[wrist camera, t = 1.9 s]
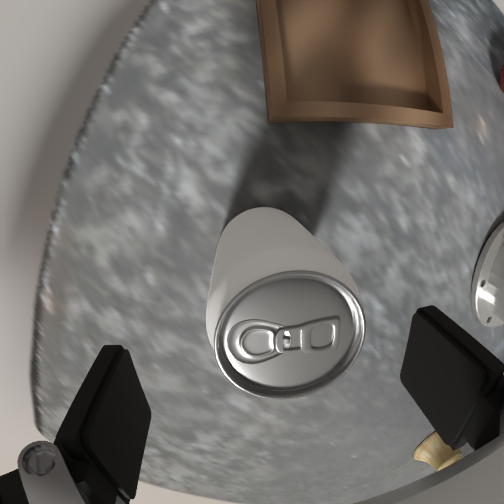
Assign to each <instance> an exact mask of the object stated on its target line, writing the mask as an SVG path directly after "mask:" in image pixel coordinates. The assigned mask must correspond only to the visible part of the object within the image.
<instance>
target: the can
mask: <svg viewBox="0 0 504 504" xmlns="http://www.w3.org/2000/svg"><path fill="white" fill-rule="evenodd" d="M206 327H207V333H208V337H209V340H210V343H211V345H212V347H213V349H214V352H215V356H216V359H217V362H218V364H219V366H220V368H221V370H222V372H223V373H224V374H225V376H226V377H227V378H228V379H229V380H230V381H231V382H232V383H233V384H235V385H236V386H237V387H239V388H240V389H242V390H244V391H246V392H248V393H250V394H252V395H255V396H259V397H262V398H268V399H278V400H283V399H294V398H300V397H304V396H308V395H311V394H313V393H316V392H318V391H321V390H323V389H324V388H326V387H328V386H330V385H331V384H333V383H334V382H335V381H337V380H338V379H339V378H340V377H342V376H343V375H344V374H345V373H346V372H347V371H348V370H349V368H350V367H351V366H352V365H353V363H354V362H355V360H356V359H357V357H358V355H359V353H360V351H361V349H362V346H363V343H364V339H365V332H366V321H365V315H364V311H363V308H362V306H361V303H360V297H359V292H358V289H357V287H356V284H355V282H354V280H353V278H352V277H351V275H350V274H349V272H348V271H347V270H346V268H345V267H344V266H343V265H342V264H341V263H340V262H339V260H338V259H337V258H336V257H335V256H334V255H333V254H332V253H331V252H330V251H329V250H328V249H327V248H326V247H325V246H323V245H322V244H321V243H320V242H319V241H318V240H317V239H316V238H315V237H314V236H313V235H312V234H311V233H310V232H309V231H308V230H307V229H306V228H304V227H303V226H302V225H301V224H300V223H299V222H298V221H297V220H296V219H294V218H293V217H292V216H290V215H289V214H287V213H286V212H284V211H281V210H279V209H275V208H270V207H258V208H253V209H249V210H247V211H244V212H242V213H240V214H239V215H237V216H236V217H235V218H233V219H232V220H231V221H230V222H229V223H228V225H227V226H226V227H225V229H224V231H223V232H222V234H221V237H220V239H219V242H218V246H217V251H216V256H215V261H214V266H213V272H212V277H211V283H210V289H209V295H208V302H207V310H206Z"/></svg>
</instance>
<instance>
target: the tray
mask: <svg viewBox="0 0 504 504" xmlns="http://www.w3.org/2000/svg"><path fill="white" fill-rule="evenodd" d="M256 6H257V15H258V24H259V34H260V43H261V53H262V63H263V74H264V84H265V95H266V106H267V118H268V123H275V122H358V123H377V124H391V125H402V126H412V127H421V128H429V129H444V128H454V126H453V116H452V107H451V99H450V92H449V85H448V79H447V73H446V68H445V63H444V58H443V53H442V48H441V44H440V40H439V36H438V32H437V28H436V25H435V21H434V17H433V14H432V11H431V8H430V4H429V1H428V0H256Z"/></svg>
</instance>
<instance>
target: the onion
mask: <svg viewBox="0 0 504 504" xmlns="http://www.w3.org/2000/svg"><path fill="white" fill-rule="evenodd" d="M500 87H501V90H502V91H503V93H504V65H503V68H502V70H501V84H500Z"/></svg>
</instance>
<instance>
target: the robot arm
mask: <svg viewBox="0 0 504 504" xmlns="http://www.w3.org/2000/svg"><path fill="white" fill-rule="evenodd" d="M471 302H472V308H473V312H474V315H475V317H476V318H477V319H478V320H479V322H481V323H482V324H483V325H485V326H487V327H497V326H500V325H502V324H504V221H503V222H502V223H501V224H500V225H499V226H498V227H497V228H496V229H495V230H494V231H493V233H492V234H491V236H490V237H489V239H488V240H487V242H486V244H485V246H484V248H483V250H482V252H481V255H480V257H479V260H478V263H477V266H476V269H475V273H474V278H473V283H472V292H471ZM503 373H504V364H503V363H502V362H501V361H500V360H499V359H498V358H497V357H495V356H494V355H493V354H492V353H491V352H490V351H489V350H487V349H486V348H485V347H484V346H483V345H482V344H480V343H479V342H478V341H477V340H476V339H474V338H473V337H472V336H471V335H470V334H469V333H467V332H466V331H465V330H464V329H462V328H461V327H460V326H459V325H458V324H456V323H455V322H454V321H453V320H451V319H450V318H449V317H448V316H446V315H445V314H444V313H443V312H441V311H440V310H439V309H438V308H436V307H435V306H433V305H430V306H426V307H422V308H419V309H417V311H416V313H415V314H414V315H413V317H412V323H411V328H410V333H409V338H408V343H407V348H406V352H405V357H404V361H403V365H402V369H401V373H400V379H401V382H402V384H403V385H404V387H405V388H406V389H407V391H408V392H409V394H410V395H411V396H412V398H413V399H414V400H415V402H416V403H417V405H418V406H419V407H420V409H421V410H422V412H423V413H424V415H425V416H426V417H427V419H428V420H429V422H430V423H431V425H432V426H433V427H434V429H435V430H436V432H437V433H438V435H439V436H440V438H441V439H442V441H443V442H444V443H445V444H446V445H449V446H450V447H451V448H452V450H453V451H455V450H457V449H458V448H460V447H462V446H464V445H465V444H466V443H467V442H468V443H469V444H470V448H469V455H467V456H465V457H464V458H462V459H460V460H458V461H456V462H455V463H453V464H451V465H449V466H447V467H445V468H443V469H441V470H439V471H437V472H435V473H433V474H431V475H429V476H426V477H424V478H422V479H420V480H417V481H415V482H413V483H410V484H408V485H406V486H403V487H401V488H398V489H395V490H393V491H390V492H387V493H385V494H382V495H379V496H376V497H373V498H370V499H367V500H364V501H361V502H357V503H354V504H504V375H503ZM150 421H151V410H150V407H149V404H148V402H147V399H146V397H145V394H144V392H143V389H142V387H141V384H140V381H139V379H138V376H137V373H136V370H135V367H134V365H133V362H132V359H131V356H130V353H129V351H128V350H127V349H124V348H123V347H122V346H121V345H104V346H103V347H102V349H101V351H100V352H99V354H98V356H97V358H96V360H95V361H94V363H93V365H92V367H91V369H90V370H89V372H88V374H87V376H86V378H85V380H84V381H83V383H82V385H81V387H80V389H79V391H78V393H77V395H76V397H75V399H74V400H73V402H72V404H71V406H70V408H69V410H68V412H67V414H66V416H65V418H64V420H63V422H62V424H61V427H60V429H59V431H58V433H57V435H56V439H55V441H54V443H51V442H48V441H36V442H32V443H31V444H29V445H27V446H26V447H25V448H24V449H23V450H22V451H21V453H20V454H19V457H18V469H16V470H14V471H12V472H9V473H7V474H4V475H2V476H0V504H129V502H130V499H134V498H135V495H136V490H137V485H138V479H139V474H140V469H141V464H142V459H143V454H144V449H145V444H146V439H147V435H148V430H149V425H150Z"/></svg>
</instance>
